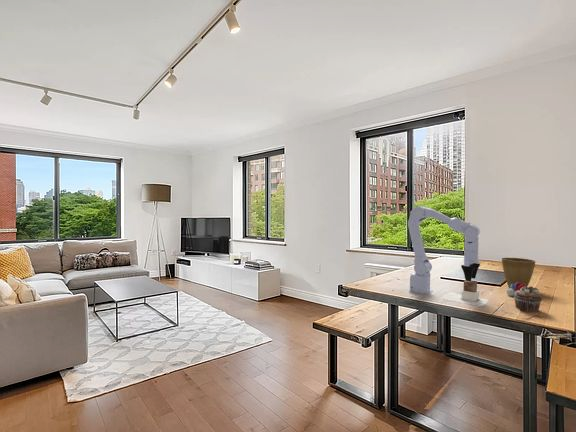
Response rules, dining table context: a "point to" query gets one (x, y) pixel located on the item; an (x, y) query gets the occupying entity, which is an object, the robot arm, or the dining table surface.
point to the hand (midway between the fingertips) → (470, 279)
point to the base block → (470, 295)
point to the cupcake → (528, 299)
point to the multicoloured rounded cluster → (515, 288)
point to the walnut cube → (470, 286)
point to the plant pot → (518, 270)
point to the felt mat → (458, 299)
